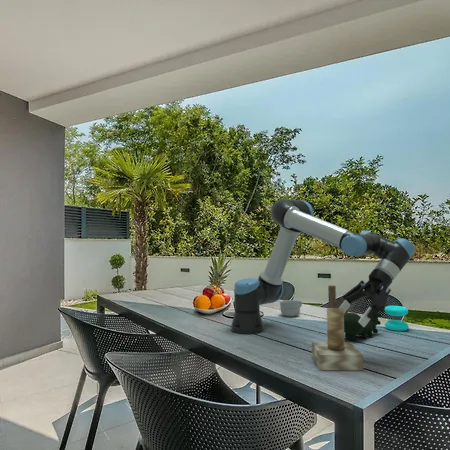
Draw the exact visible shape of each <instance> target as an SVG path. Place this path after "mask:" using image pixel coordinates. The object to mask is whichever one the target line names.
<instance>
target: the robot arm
mask: <svg viewBox="0 0 450 450" xmlns="http://www.w3.org/2000/svg"><path fill="white" fill-rule="evenodd" d="M270 215H271V219H272V220H273V221H274V222H275V224H277V225H279V227H280V229H279V230H278V234H277V237H276V240H275V242H274V245H273V248H272V251H271V253H270V255H269V258H268V261H267V263H266V267H265V269H264V271H261V272H260V273H259V276H258V278H255V277H250V278H249V277H248V278H242V279H238V280H236V281H235V283H234V289H233V292H234V295H233V296H234V315H233V318H232V321H231V325H230V326H231V328H230V329H231V331H232V332H234V333H236V334H244V335H246V334H247V335H248V334H249V335H252V334H253V335H254V334H258V333H262V332H264V329H265V328H264V321H263V320H262V316H261V313H260V306H262V305H267V304H274V303H275V302H278V301H279V300H280V299H281V298H282V296H283V294H284V285H283V284H284V283H283V280H282V276H283V274H284V271H285V269H286V265H287V263H288V261H289V258H290V256H291V253H292V251H293V249H294V246H295V243H296V241H297V238H298V236H299V235H300V234H302V233H304V234H306V235H308V236H311V237H312V238H315V239H317V240H319V241H322V242H324V243H326V244H329V245H331V246H333V247H336V248H338V249H340V250H341V251H342V252H343V253H344V254H345V255H347V256H350V257H360V256H367V255H373V256H376V257H378V258H380V260H379V262H378V263H377V264H376V265H375V267H374V269H372V271H371V272H370V274H369V275H368V281H366V282H365V281H364V280H360V281H359V282H358V284H356V285H355V286H353V288H351V289H349V291H347V292H346V293H345V294H343V295H342V296H341V297H343V299H344V301H343V303H342V304H341V305H340V307H339V308H341V309H343V310H344V313H345V312H346V311H347V309H348V310H349V309H350V307H351V305H352V303H353V302H355V301H357V300H359V299H361V298H363V297H366V296H367V295H368V296H372V305H371V304H370V306H371V307H372V308H371V307H370V306H368V308H367V309H366V311H365V312H364V313H363V314H362V316H360V317H361V318H360V320H359V321H358V322H359V323H360V324H361V325H362V326H363V327H365V326H366V325H367V323H368V322H369V321H370V319H372V318H373V316H374V315H375V314H376V312H381V313H383V312H385V307H386V305H387V300H388V297H389V294H390V293H391V292H392V290H391V288H390V285H392V283H393V281H394V280H395V279H396V277H398V275H399V273H401V271H402V269H404V267H405V266H406V264H407V263H408V262H409V261H410V259H412V256H413V255H414V253H415V251H416V248H415V245H414V243H412V242H411V241H410V240H408V239H406V238H402V237H398V238H397V239H396V240H394V241H393V240H390V239H388V238H386V237H384V236H382V235H379V234H376V233H375V232H371V231H369V230H363V231H362V232H360V234H359V233H357V232H353V231H351V230H349V229H346V228H343V227H341V226H339V225H336V224H333V223H331V222H329V221H326V220H323V219H321V218H318V217H316V216H314V209H313V207H312V205H311V203H309V202H308V201H306V200H302V199H289V198H283V199H279V200H277V201H275V202H274V203H273V205H272V207H271V210H270Z"/></svg>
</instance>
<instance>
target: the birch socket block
mask: <svg viewBox="0 0 450 450" xmlns="http://www.w3.org/2000/svg"><path fill="white" fill-rule="evenodd" d="M344 346H345V349H344V350H342V351H333V350H330V349H328V341H327V342H325V341H324V342H321V341H320V342H318V341H317V342H311V357H312V358H313V361H314V362H315V363H316V366H317V367H318V369H319V371H364V354H363V353H362V352H361V351H360V350H359V349H358V348H357V347H356V346H354V344H353V343H352V342H349V341H348V342H347V341H344Z"/></svg>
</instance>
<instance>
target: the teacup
mask: <svg viewBox="0 0 450 450" xmlns="http://www.w3.org/2000/svg"><path fill="white" fill-rule="evenodd" d="M279 304H280V305H279V306H280V307H279V308H280V313H281V314H282V315H283V317H286V318H288V317H289V318H291V317H292V318H293V317H297V316H298V315H299V314H300V312H301V307H302V304H303V301H302V300H300V299H299V300H295V299H289V300H287V299H286V300H281V301H279Z"/></svg>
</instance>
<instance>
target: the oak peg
mask: <svg viewBox="0 0 450 450" xmlns="http://www.w3.org/2000/svg"><path fill="white" fill-rule="evenodd" d="M326 328H327V332H326V334H327V342H328V349H330V350H333V351H342V350H344V349H345V346H344V342H345V332H344V310H343V309H341V308H329V307H328V308H326Z"/></svg>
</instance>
